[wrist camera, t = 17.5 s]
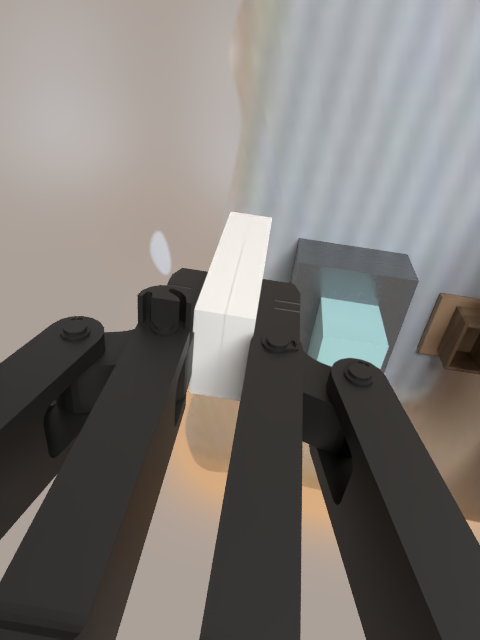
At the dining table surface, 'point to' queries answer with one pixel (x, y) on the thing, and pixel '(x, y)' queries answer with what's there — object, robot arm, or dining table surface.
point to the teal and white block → (348, 333)
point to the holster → (454, 333)
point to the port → (353, 284)
